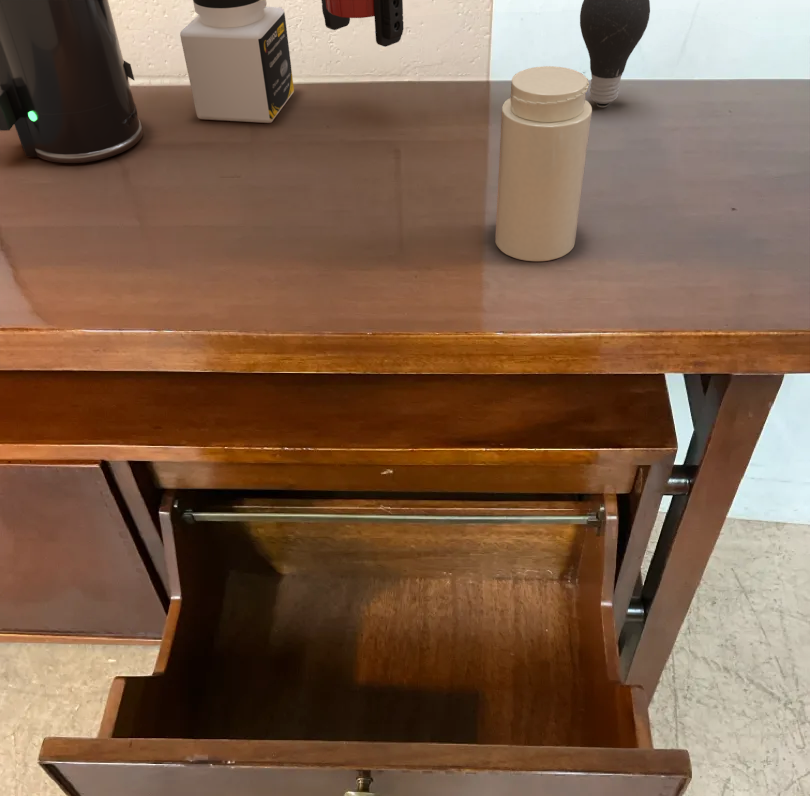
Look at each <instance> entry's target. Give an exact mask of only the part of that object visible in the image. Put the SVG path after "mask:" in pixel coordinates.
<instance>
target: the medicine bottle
mask: <svg viewBox="0 0 810 796" xmlns="http://www.w3.org/2000/svg"><path fill="white" fill-rule="evenodd" d="M192 3H193V8H194V11H195V13H196V14H197V16H195V18H193V19H192V20H191V21H190V22H189V23H188V24H187V25H186V26H185V27H184V28H183V29H182V30H180V32H179V36H180V42H181V46H182V50H183V55H184V61H185V65H186V70H187V75H188V80H189V85H190V90H191V93H192V99H193V103H194V107H195V108H194V109H195V113H196V117H197V118H198V119H199V120H210V121H225V122H226V121H227V122H229V121H230V122H246V123H262V124H263V123H264V124H271V123H272V122H273V121H274V120H275V119H276V117H277V116H278V114H279V113H280V111H282V109H283V107H284V106H285V105H286V103H287V102H289V99H290V98H291V97H292V95H293V94H294V92H295V87H294V79H293V70H292V62H291V53H290V46H289V36H288V29H287V21H286V13H285V9H284V8H283V7H282V6H267V0H192Z"/></svg>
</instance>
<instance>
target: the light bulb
mask: <svg viewBox="0 0 810 796" xmlns="http://www.w3.org/2000/svg"><path fill="white" fill-rule="evenodd" d="M581 3H582V4H581V6H580V7H581V8H580V12H579V13H580V14H579V26H580V27H579V28H580V32H581V36H582V39H583V41H584V44H585V47H586V50H587V52H588V56H589V69H590V73H591V79H590V84H589V93H590V94H589V98H590V99H591V100H592V101H593V102H594V103H596V106H597V107H598V108H606V107H608V106H609V104H611V103H613V102H614V101H615V100H617V98H618V95H619V93H620V92H619V91H620V85H621V79H622V76H623V73H624V71H625V69H626V67H627V62H628V60H629V58H630V56H631V55H632V53H633V51H634V50H635V48H636V46H637V45H638V44H639V42H640V41H641V39H642V37H643V36H644V34H645V32H646V29H647V27H648V24H649V21H650V14H651V3H650V0H583V1H582V2H581Z"/></svg>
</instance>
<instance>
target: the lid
mask: <svg viewBox="0 0 810 796" xmlns="http://www.w3.org/2000/svg"><path fill="white" fill-rule="evenodd" d="M326 8H327V9H328V11H329V12H330V13H331V14H333V15H336V16H339V17H345V18H350V19H365V18H373V17H374V0H326Z"/></svg>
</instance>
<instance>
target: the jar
mask: <svg viewBox="0 0 810 796" xmlns="http://www.w3.org/2000/svg"><path fill="white" fill-rule="evenodd" d="M510 85H511V86H510V98H507V99H506V100H505V101H504V103H503V104H502V107H501V119H500V122H501V123H500V137H499V138H500V139H499V159H498V177H497V178H498V180H497V196H496V197H497V198H496V199H497V200H496V216H495V217H496V218H495V235H494V236H495V237H494V241H495V245H496V246H497V248H498V249H499V250H500V251H501V252H502V253H503V254H505V255H507V256H508V257H510V258H513V259H515V260H516V259H517V260H521V261H527V262H547V261H552V260H556V259H559V258H563V257H564V256H566V255H567V254H569V253H570V252H571V251H572V250H573V249H574V247H575V245H576V240H577V239H576V237H577V231H578V224H579V223H578V222H579V215H580V209H581V199H582V193H583V184H584V176H585V169H586V160H587V153H588V146H589V137H590V131H591V123H592V116H593V115H592V113H593V107H592V105H591V103H590V102H589V101H588V100H587V99H586V97H587V93H588V91H589V89H590V82H589V78H588V77H587V76H586V75H585V74H583V73H582V72H580V71H577V70H575V69H572V68H568V67H563V66H562V67H561V66H551V65H546V66H545V65H543V66H535V67H534V66H533V67H529V68H525V69H523V70H520V71H518V72H517V73H515V74H514V75H513V76H512V78H511V84H510Z"/></svg>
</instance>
